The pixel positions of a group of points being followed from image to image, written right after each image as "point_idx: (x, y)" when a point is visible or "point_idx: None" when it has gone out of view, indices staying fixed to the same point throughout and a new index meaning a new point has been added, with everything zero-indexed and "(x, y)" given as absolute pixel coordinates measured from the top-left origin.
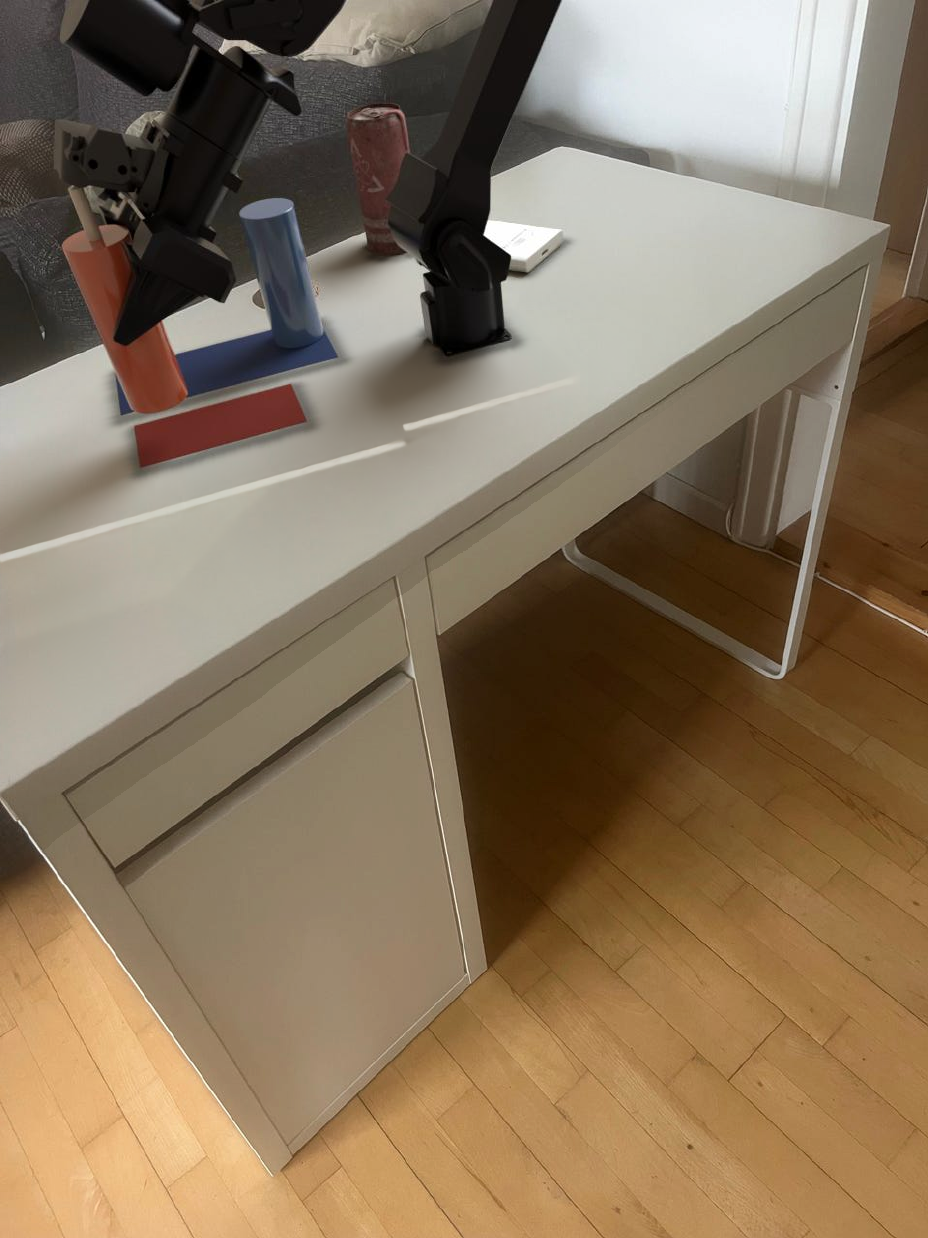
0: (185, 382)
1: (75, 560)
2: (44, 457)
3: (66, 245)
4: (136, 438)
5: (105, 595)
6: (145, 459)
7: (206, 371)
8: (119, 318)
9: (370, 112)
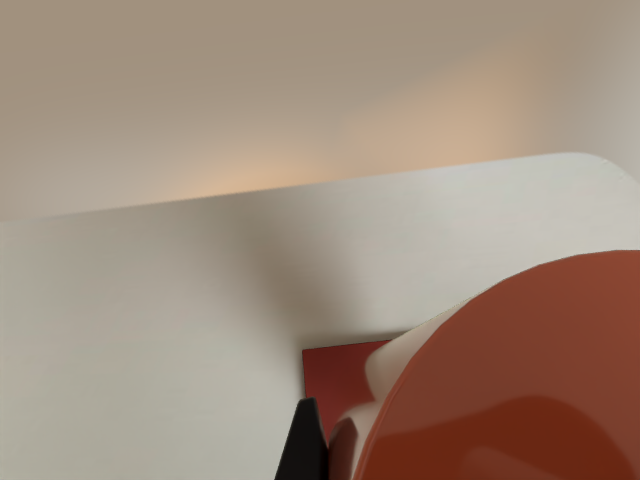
0: None
1: (144, 270)
2: (395, 211)
3: (606, 295)
4: (387, 340)
5: (54, 311)
6: (320, 357)
7: None
8: (288, 466)
9: None
